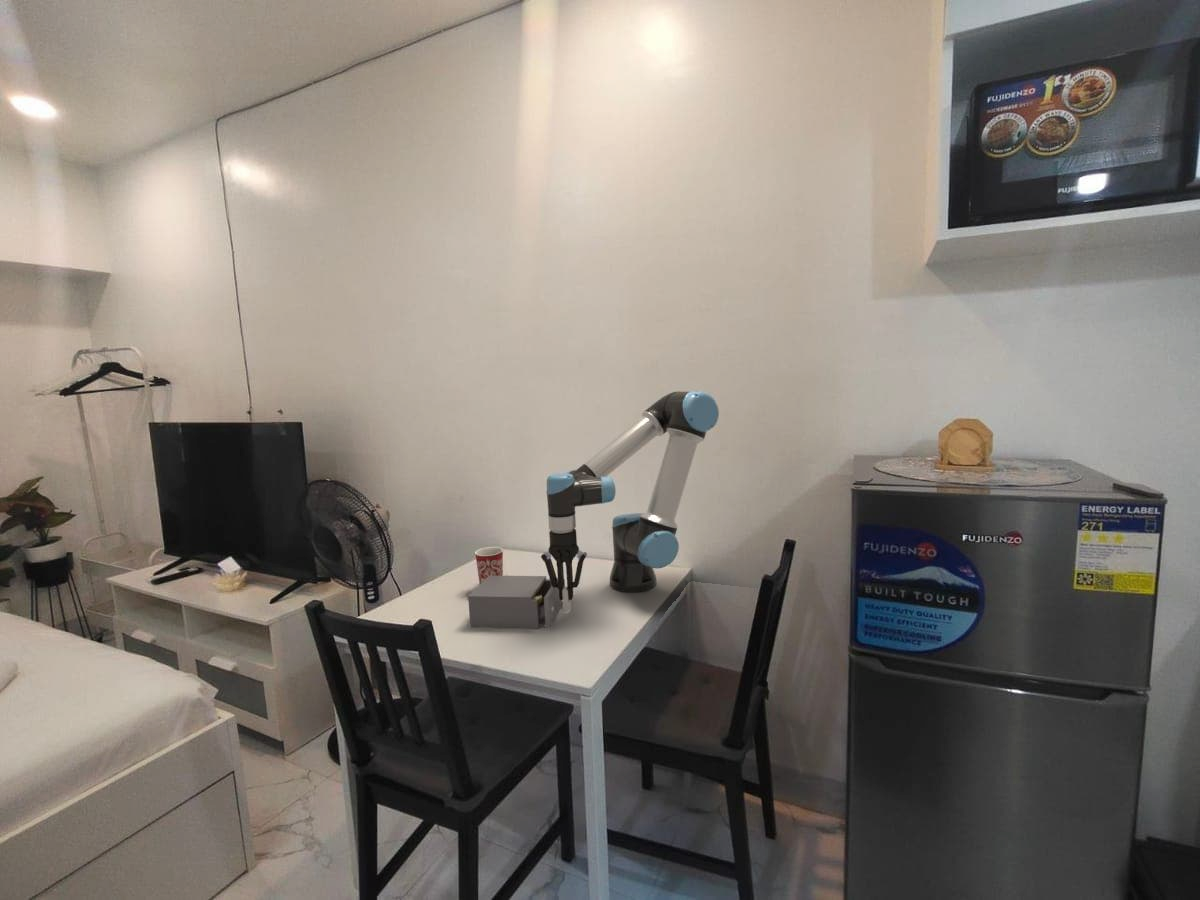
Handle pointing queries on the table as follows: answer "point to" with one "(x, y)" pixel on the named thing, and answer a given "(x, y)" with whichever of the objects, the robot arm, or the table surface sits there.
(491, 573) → the mug
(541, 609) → the tray
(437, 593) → the table surface
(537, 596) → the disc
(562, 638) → the table surface
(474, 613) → the housing
